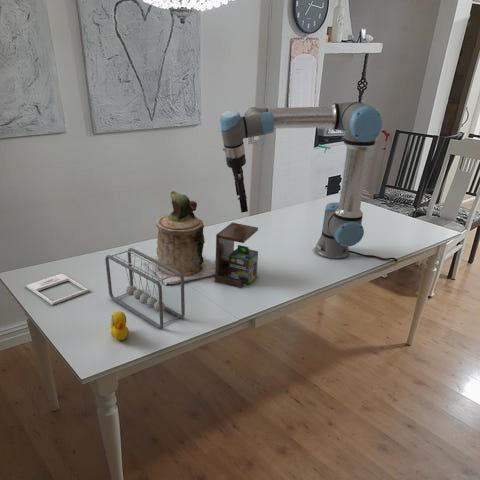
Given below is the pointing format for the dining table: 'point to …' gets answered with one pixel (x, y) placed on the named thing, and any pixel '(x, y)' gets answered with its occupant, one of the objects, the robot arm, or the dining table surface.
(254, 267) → the chalk box
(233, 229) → the walnut rack
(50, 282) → the photo frame
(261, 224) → the dining table surface
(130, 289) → the newton's cradle
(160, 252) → the cookie jar
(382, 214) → the dining table surface
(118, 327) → the duckling
